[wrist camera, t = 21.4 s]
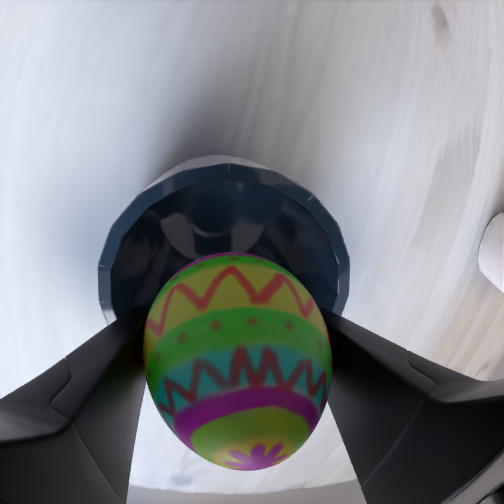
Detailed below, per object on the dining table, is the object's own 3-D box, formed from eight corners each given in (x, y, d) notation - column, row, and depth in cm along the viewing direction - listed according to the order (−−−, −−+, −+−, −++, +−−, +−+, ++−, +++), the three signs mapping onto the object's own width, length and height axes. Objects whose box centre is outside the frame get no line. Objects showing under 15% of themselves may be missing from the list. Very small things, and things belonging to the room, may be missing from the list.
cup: (108, 205, 15) (51, 250, 8) (256, 126, 15) (296, 116, 8) (187, 329, 18) (185, 414, 12) (316, 266, 18) (371, 331, 12)
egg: (312, 328, 11) (383, 458, 5) (194, 373, 11) (201, 514, 5) (272, 208, 9) (372, 317, 4) (128, 268, 9) (64, 419, 4)
